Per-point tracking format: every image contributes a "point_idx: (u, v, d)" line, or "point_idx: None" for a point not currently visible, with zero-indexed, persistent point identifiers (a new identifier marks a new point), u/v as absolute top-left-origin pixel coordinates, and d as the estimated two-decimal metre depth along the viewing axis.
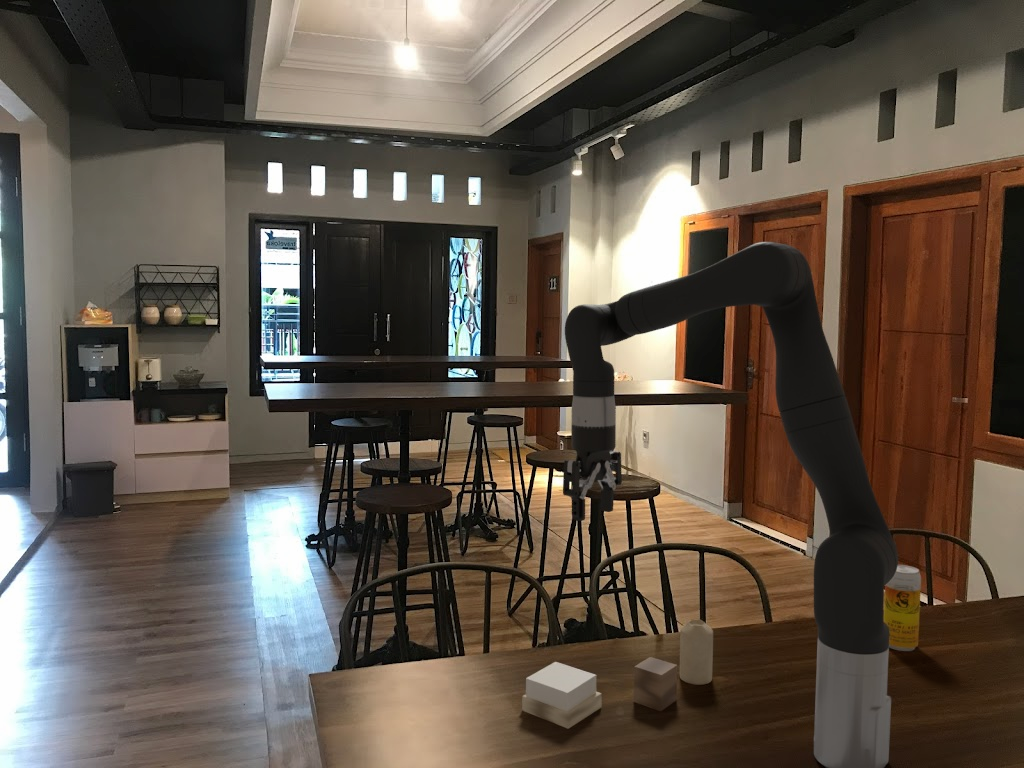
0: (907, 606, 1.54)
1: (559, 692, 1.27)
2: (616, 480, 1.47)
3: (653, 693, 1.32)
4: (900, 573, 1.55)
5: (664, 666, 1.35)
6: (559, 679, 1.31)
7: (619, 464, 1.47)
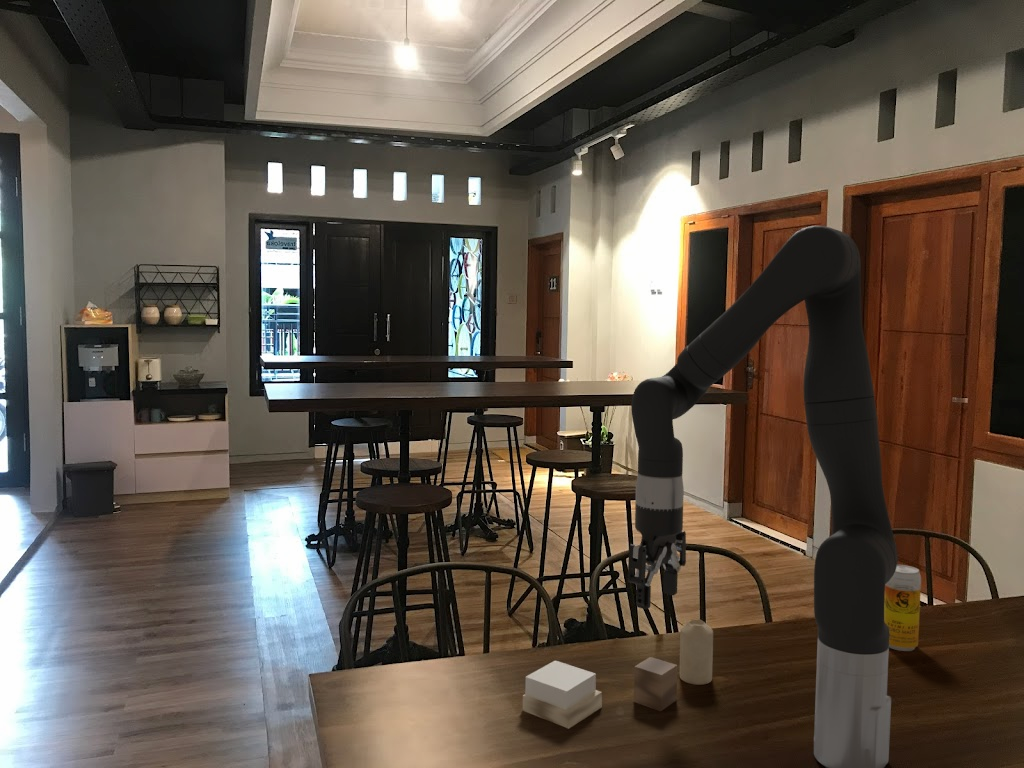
0: (906, 606, 1.54)
1: (559, 690, 1.28)
2: (680, 561, 1.37)
3: (653, 693, 1.32)
4: (900, 573, 1.55)
5: (664, 666, 1.35)
6: (559, 677, 1.31)
7: (684, 543, 1.37)
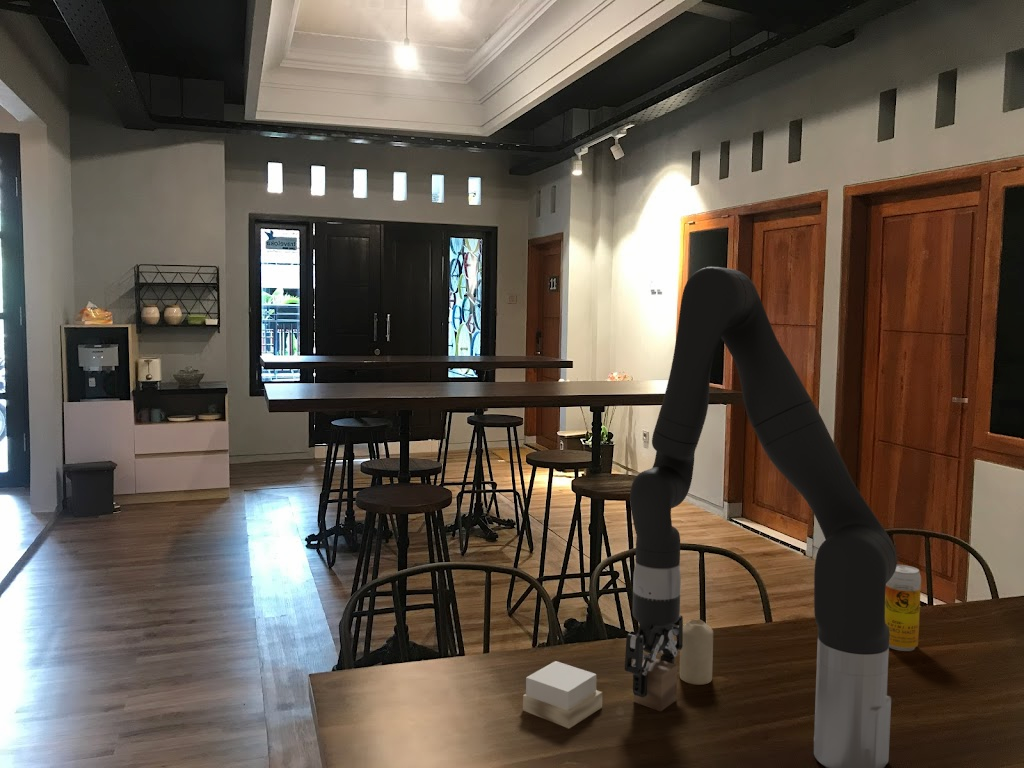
0: (907, 606, 1.54)
1: (560, 691, 1.27)
2: (677, 645, 1.39)
3: (653, 693, 1.32)
4: (900, 573, 1.55)
5: (664, 666, 1.35)
6: (560, 678, 1.31)
7: (681, 628, 1.39)
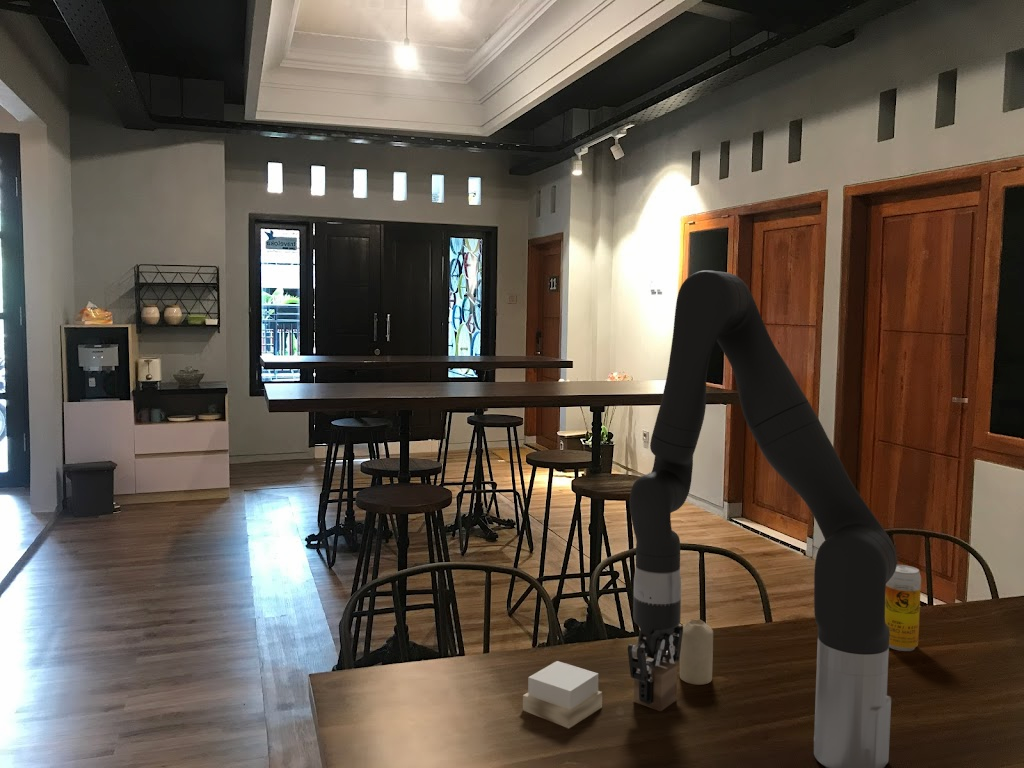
0: (907, 606, 1.54)
1: (562, 690, 1.27)
2: (674, 657, 1.38)
3: (653, 693, 1.32)
4: (900, 573, 1.55)
5: (664, 666, 1.35)
6: (562, 677, 1.31)
7: (680, 638, 1.38)
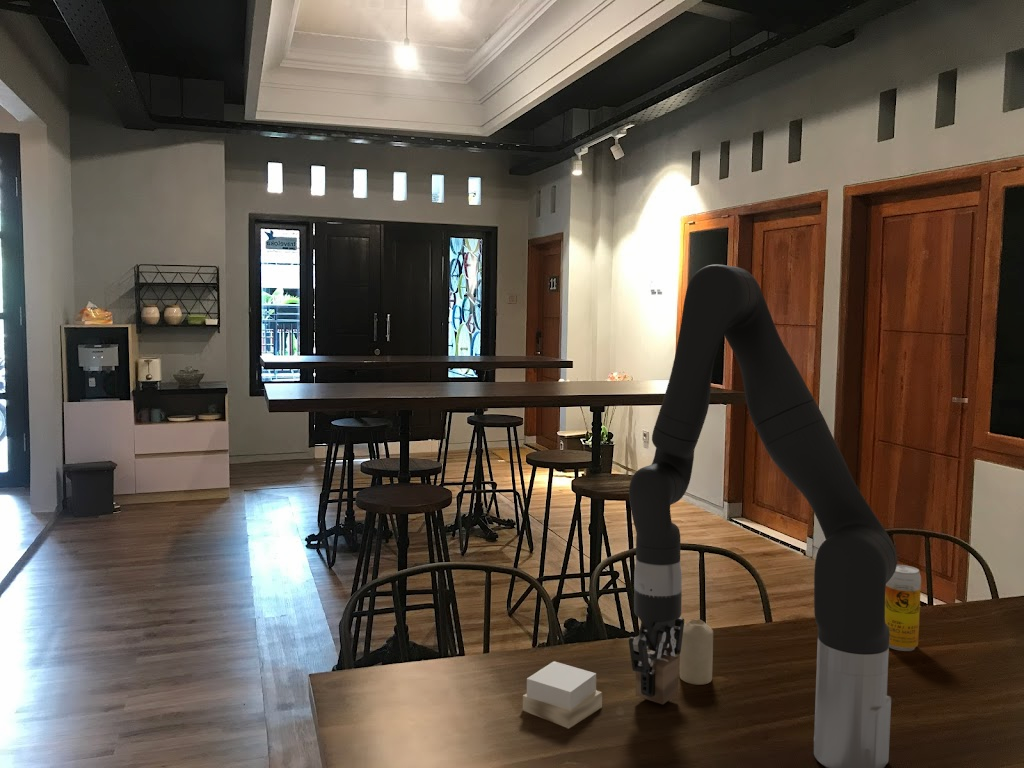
0: (907, 606, 1.54)
1: (562, 691, 1.27)
2: (675, 650, 1.37)
3: (655, 686, 1.32)
4: (900, 573, 1.55)
5: (666, 659, 1.34)
6: (560, 678, 1.31)
7: (681, 631, 1.38)
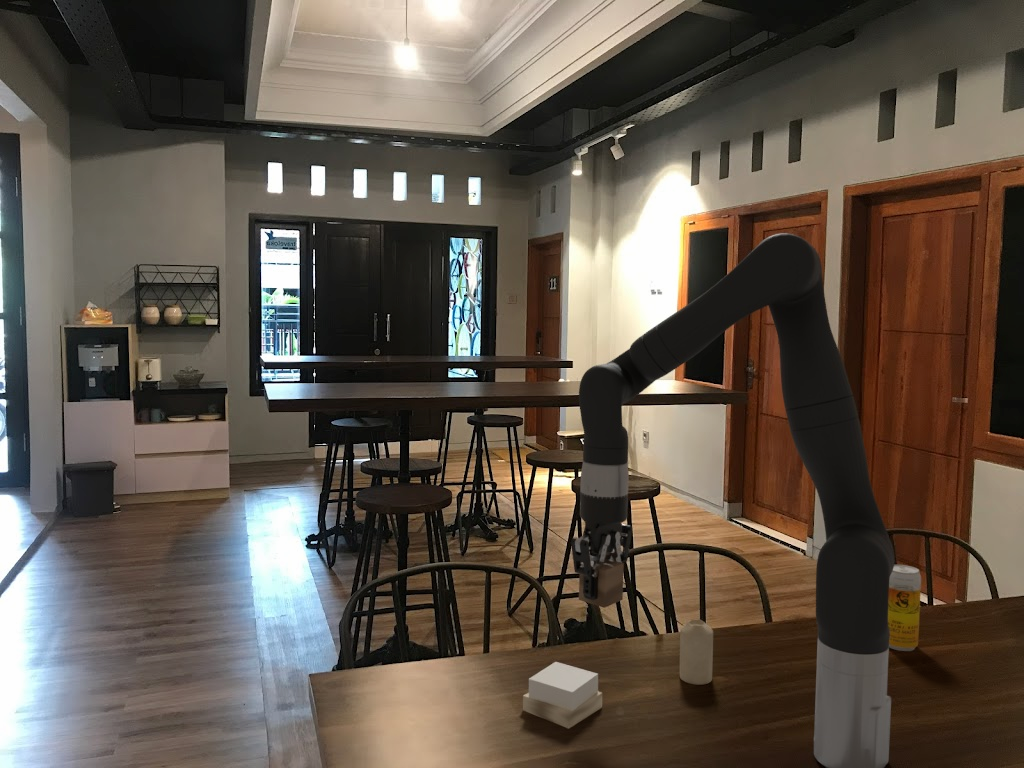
0: (907, 606, 1.54)
1: (564, 692, 1.27)
2: (622, 557, 1.35)
3: (598, 589, 1.30)
4: (900, 573, 1.55)
5: (610, 563, 1.32)
6: (562, 678, 1.31)
7: (629, 539, 1.36)
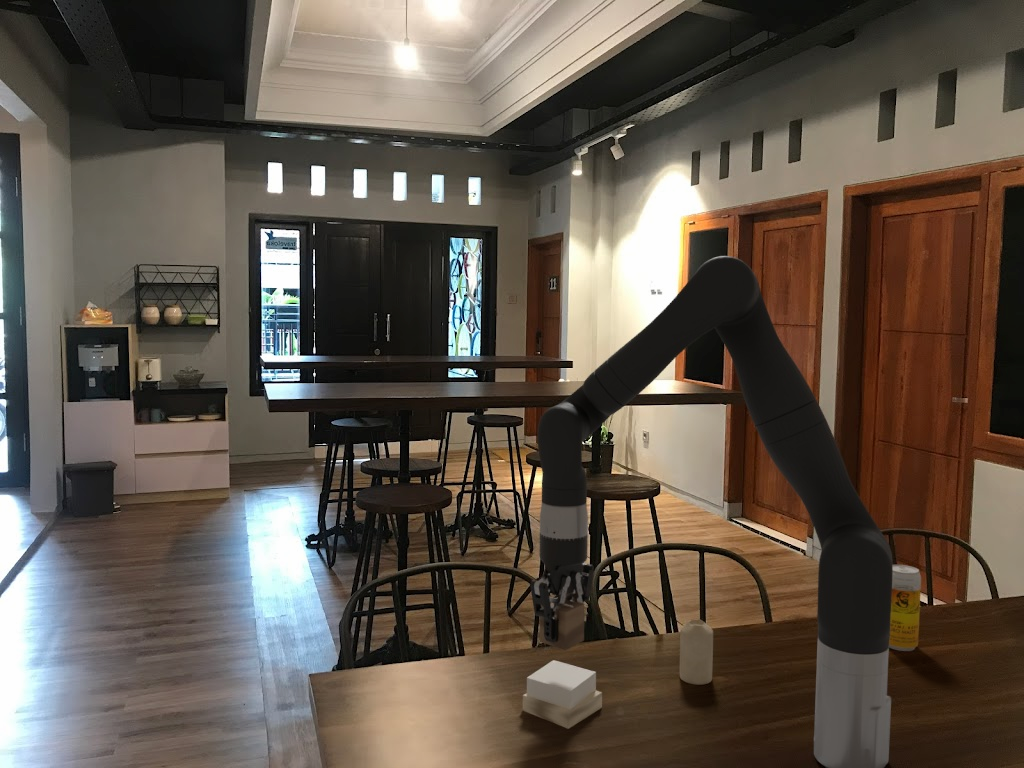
0: (907, 606, 1.54)
1: (562, 690, 1.28)
2: (583, 597, 1.34)
3: (558, 631, 1.29)
4: (900, 573, 1.55)
5: (571, 604, 1.31)
6: (560, 677, 1.31)
7: (590, 578, 1.35)
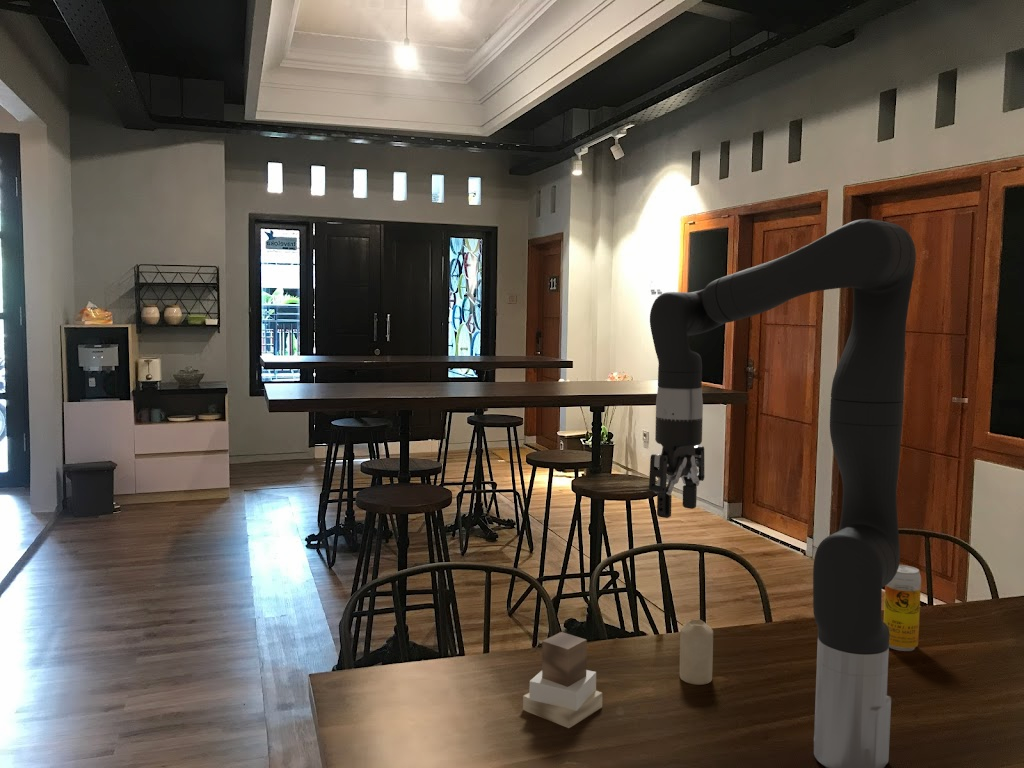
0: (907, 606, 1.54)
1: (567, 692, 1.27)
2: (699, 476, 1.41)
3: (560, 668, 1.29)
4: (900, 573, 1.55)
5: (573, 640, 1.31)
6: None
7: (703, 458, 1.41)
